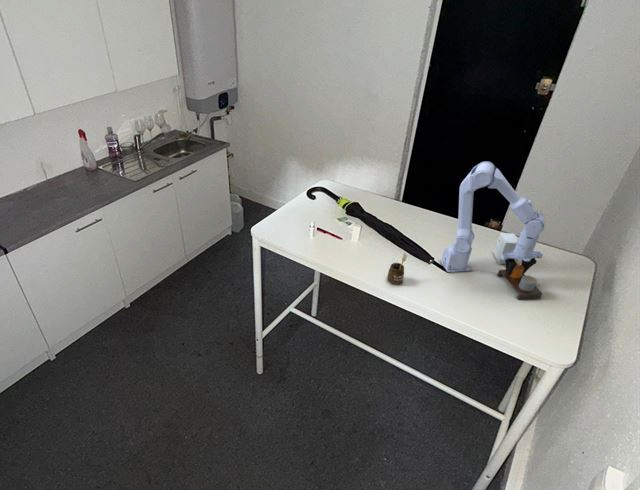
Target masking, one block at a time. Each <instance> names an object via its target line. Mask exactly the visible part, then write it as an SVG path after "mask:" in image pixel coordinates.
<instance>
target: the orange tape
mask: <svg viewBox="0 0 640 490" xmlns="http://www.w3.org/2000/svg"><path fill="white" fill-rule="evenodd" d="M523 271H524V267H523V266H522V265H521V263H517V265H516V266H515V267H514V269H513V271H512V273H511V275H509V276H510V277H512V278H520V277H521V276H522V273H523Z"/></svg>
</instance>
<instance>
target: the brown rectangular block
mask: <svg viewBox="0 0 640 490" xmlns="http://www.w3.org/2000/svg"><path fill="white" fill-rule="evenodd" d="M496 276H497V277H503V278H504V279H505V280H506V281H507V282H508V283H509V285H510V286H511V287H512V288H513V289H514V290H515V291H516V292H517V293H518V294H517V296H516V299H518V300H533V299H541V297H542V295H543V292H542V291H541V289H540V288H539V287H537V286H536V285H535V287H534V290H533V291H530V292H528V291H524V290H522V289H520V288H519V284H520V281H521V279H522V277H523V276H526V273H524V274H523V275H522V276H521V277H520V278H512V277H510V276H509V275H507V273H506V269H499V270H498V272H497V275H496Z"/></svg>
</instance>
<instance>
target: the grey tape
mask: <svg viewBox="0 0 640 490" xmlns="http://www.w3.org/2000/svg"><path fill="white" fill-rule="evenodd" d="M537 283H538V280H537V279H536V278H535V277H533V276H531V275H525V276H523V277H522V279H521V281H520V284H519V288H520V289H522V290H524V291H528V292H530V291H533V290H534V287H535V286H536V285H537Z"/></svg>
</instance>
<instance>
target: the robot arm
mask: <svg viewBox="0 0 640 490" xmlns="http://www.w3.org/2000/svg"><path fill="white" fill-rule="evenodd" d="M485 187H487V189H496V190H497V191H498V192H499V193H500V194H501V195H502V196H503V198H505V199H506V200H507V201H508V202H509V203H510V206H509V209H510V210H511V212H512V213H514V215H515V216H516V217H517V218H518V219H519V221H520V222H522V224H524V225H523V229H522V230H521V232H520V234H519V236H518V242H517V244H516V247H515V250H514V251H511V252H508V253H504V254H501V257H500V258H501V259H502V260H503V261H505V263H506V264H505V270H506V273H507V275H511V273H512V271H513V269H514V267H515V266H516V265H517V264H518V263H517V262H516V260H520V261H521V263H520V265H522V266H523V267H524V271H523V273H522V275H523V274H526V273H527V271H528V270H529V269H530V268H531V267H533V266H534V265H536V264H537V263H538V261H537V259H542V257H543V253H542V252H541V251H535V248H536V245H537V242H538V240H539V238H540V234H542V232H543V231H544V230H545V216H544V214H543V213H542V212H540V211H537V210H536V208H535V207H534V206H533V205H532V204H533V202H532V200H530V199H529V200H528V199H527V198H525V197H520V196H519V193H517V191H516V190H515V189H514V187H512V185H511V184H510V183H509V181H508V180H507V179H506V177H505V176H504V175H503V173H502V172H501V170H500V169H499V168H497V167H496V166H495V165H494V163H492V162H491V161H482V162H480V163H478V164H476V165H474V167H473V166H472V169H471V171H470V172H468V174H467V175H466V177H465V178H464V179H463V180H462V182H461V183H460V185H459V190H458V191H459V192H458V193H459V195H458V215H457V217H458V219H457V220H458V221H457V231H456V238H455V240H454V243H452V245H451V246H450V247H446V248H444V249H443V252H442V255H441V256H442V257H441V259H440V260H439V262H440V263H441V265H442V266H443V268H444V269H445V270H446V272H447V273H455V272H470V271H471V270H472V269H471V268H470V267H469V265H468V264H469V261H470V258H471V257H470V256H471V254H472V250H473V248H472V245H473V241H474V239H475V233H474V231H473V210H474V209H473V208H474V193H475V191H477V190H478V189H481V188H485Z"/></svg>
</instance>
